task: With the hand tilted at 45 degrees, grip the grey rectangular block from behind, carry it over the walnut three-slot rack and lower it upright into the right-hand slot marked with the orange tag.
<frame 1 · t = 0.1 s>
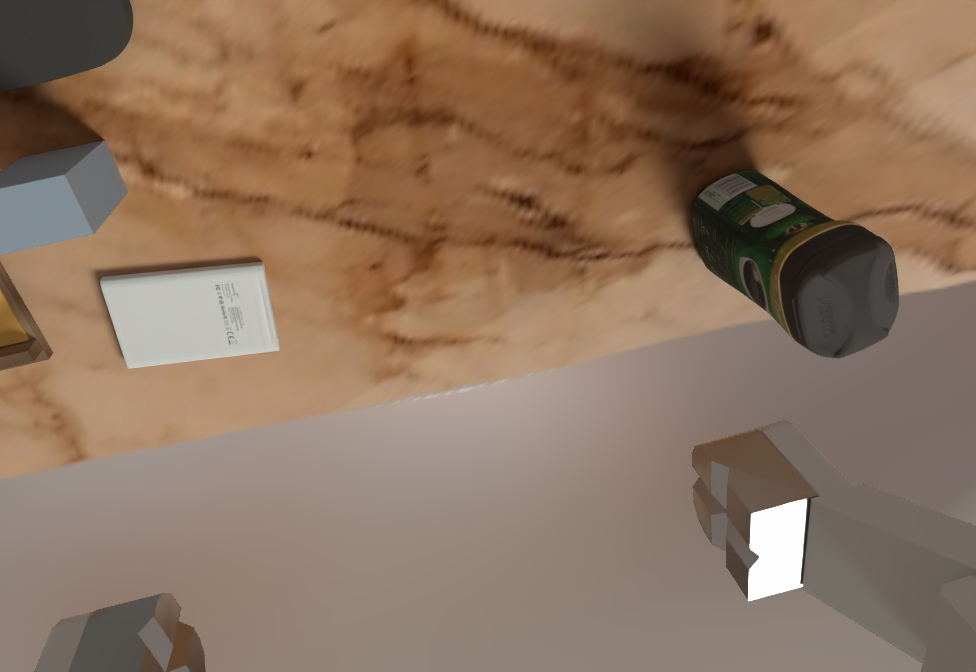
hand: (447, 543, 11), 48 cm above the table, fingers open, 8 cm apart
grey rectangular block: (75, 175, 51), on the table
external hard drive: (197, 309, 59), on the table
coffee jar: (729, 218, 64), on the table
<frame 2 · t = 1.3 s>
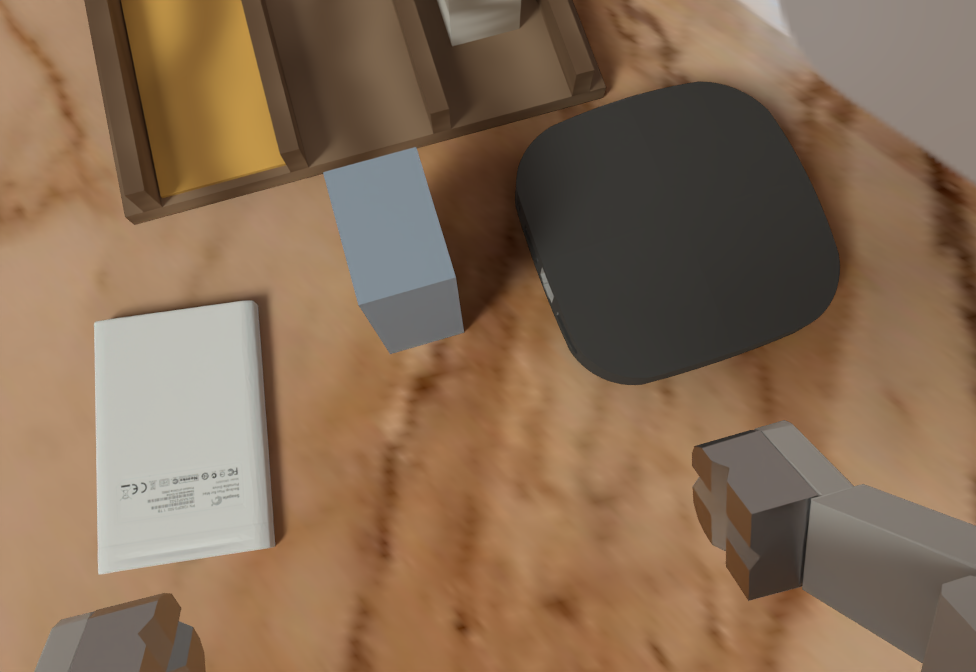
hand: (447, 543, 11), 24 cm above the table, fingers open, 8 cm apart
grey rectangular block: (412, 290, 37), on the table
rack: (340, 40, 41), on the table
external hard drive: (191, 434, 36), on the table
media streaming box: (663, 240, 38), on the table
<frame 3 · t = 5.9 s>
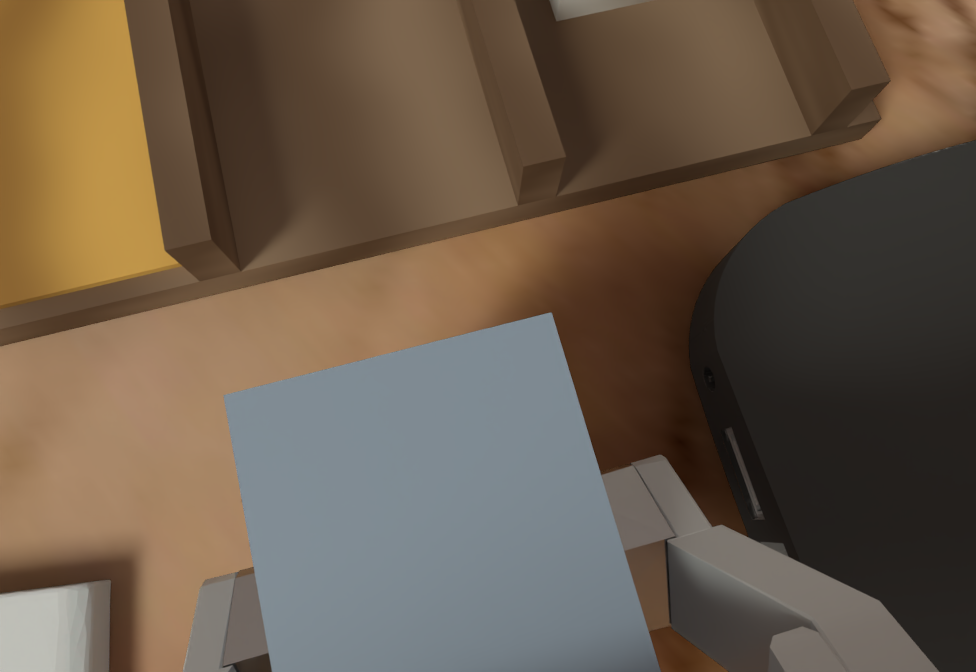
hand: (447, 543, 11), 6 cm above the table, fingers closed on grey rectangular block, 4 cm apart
grey rectangular block: (463, 562, 16), on the table, touching gripper
rack: (324, 2, 20), on the table
when the fingers open (8 cm above the table, at t = 11.1 s): grey rectangular block stays where it is, resting on rack.
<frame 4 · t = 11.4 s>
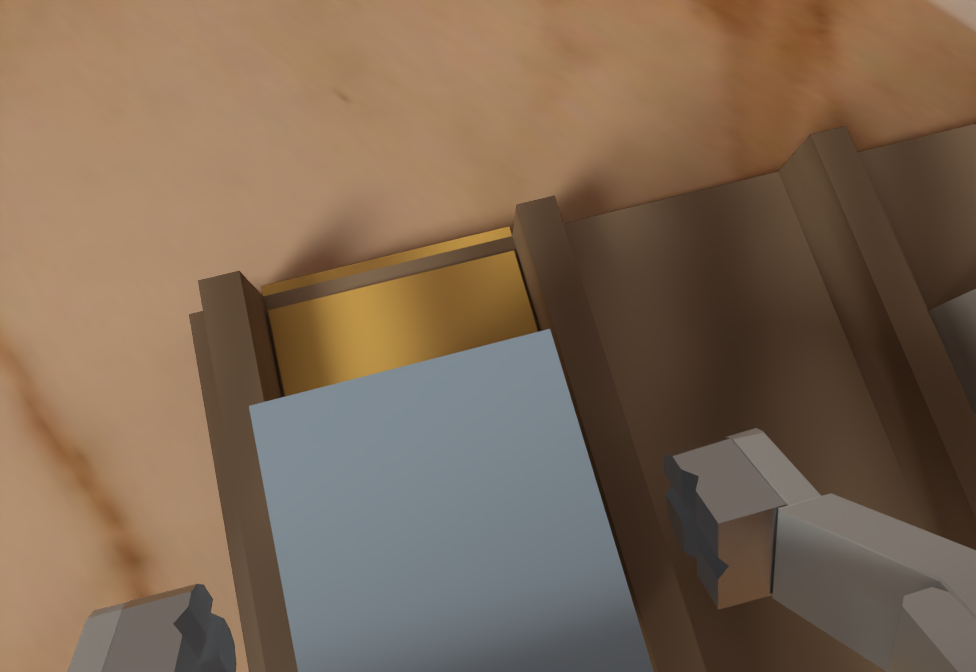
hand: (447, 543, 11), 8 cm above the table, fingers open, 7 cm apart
grey rectangular block: (466, 561, 17), point 1 cm above the table, touching rack
rack: (748, 477, 19), on the table
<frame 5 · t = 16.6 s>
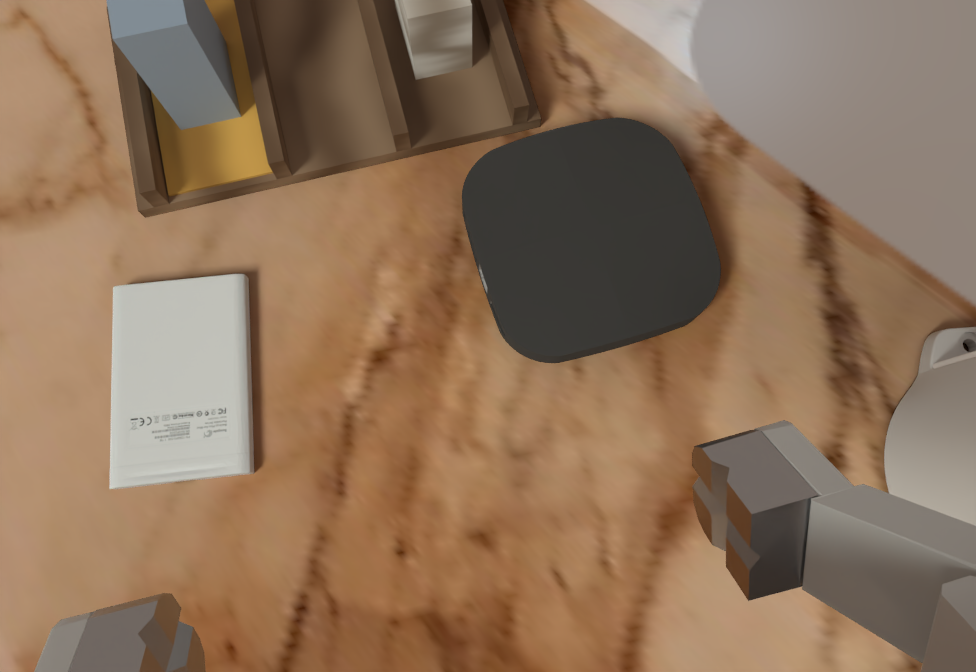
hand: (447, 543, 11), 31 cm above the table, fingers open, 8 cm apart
grey rectangular block: (203, 85, 47), point 1 cm above the table, touching rack
rack: (323, 70, 49), on the table
external hard drive: (189, 381, 44), on the table
media streaming box: (583, 246, 46), on the table
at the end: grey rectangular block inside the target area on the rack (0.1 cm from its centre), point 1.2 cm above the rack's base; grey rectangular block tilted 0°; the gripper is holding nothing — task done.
